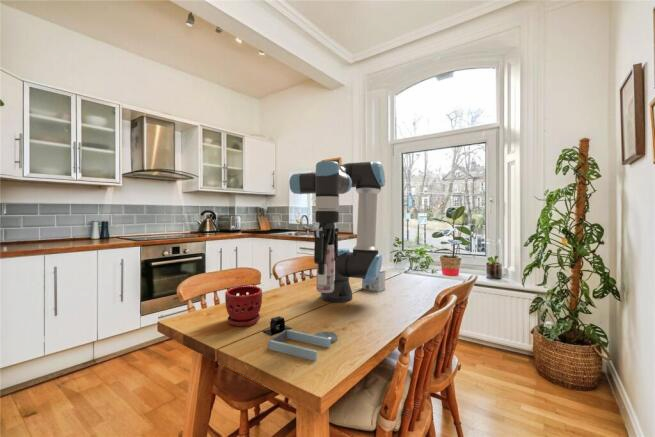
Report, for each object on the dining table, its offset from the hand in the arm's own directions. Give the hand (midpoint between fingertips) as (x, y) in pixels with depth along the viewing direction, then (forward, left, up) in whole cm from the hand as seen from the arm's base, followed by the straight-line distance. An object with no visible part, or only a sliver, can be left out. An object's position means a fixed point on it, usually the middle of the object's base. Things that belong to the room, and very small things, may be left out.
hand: (326, 281), depth 96 cm
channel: (+10, -4, -18) cm, 21 cm away
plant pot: (+1, -33, -19) cm, 38 cm away
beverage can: (0, 0, -3) cm, 3 cm away
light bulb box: (-67, -4, -19) cm, 70 cm away
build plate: (+1, -18, -19) cm, 26 cm away
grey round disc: (0, 0, -18) cm, 18 cm away
